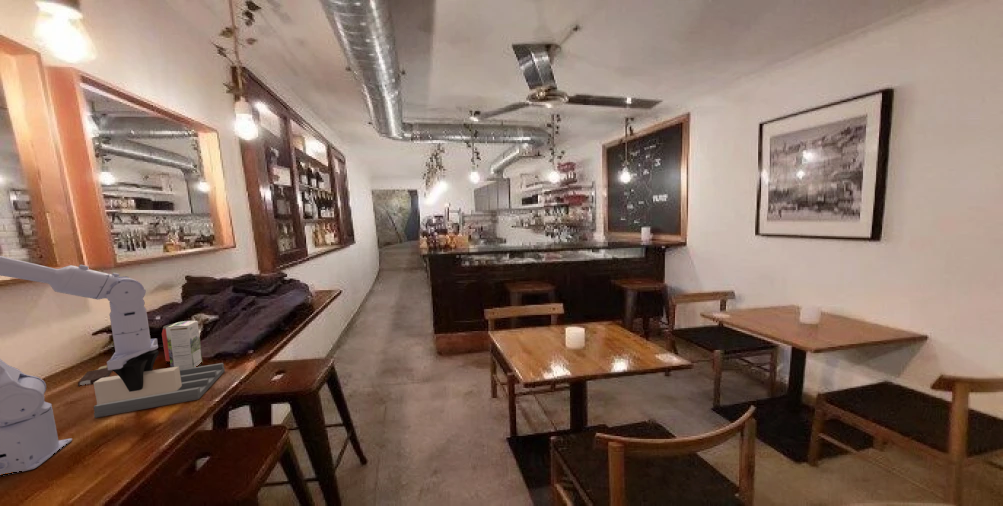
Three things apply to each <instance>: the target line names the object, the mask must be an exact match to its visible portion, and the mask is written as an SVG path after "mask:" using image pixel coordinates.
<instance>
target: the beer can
mask: <svg viewBox="0 0 1003 506" xmlns="http://www.w3.org/2000/svg"><path fill="white" fill-rule="evenodd" d="M175 323H176V322H175ZM175 323H171V324H167V325H164V326H163V327H162V332H161V337H162V344H163V350H164V351H163V353H164V358H165V362H166V361H170V359H169V351H168V343H167V334H166V328H167V327H169V326H171V325H173V324H175Z"/></svg>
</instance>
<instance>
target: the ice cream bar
mask: <svg viewBox="0 0 1003 506" xmlns="http://www.w3.org/2000/svg"><path fill="white" fill-rule="evenodd" d="M110 373H111V374H112V373H113V371H112V370H108V366H107V365H102V366H100V367H98V369H95V370H93V369H92V370H89V371H86V372H85V374H84V375H83V376H82V377H81V379H80V380H79V381H78V383H77V385H78V387H81V386H80V385H82V386H85V384H86V385H94V382H96V381H97V380H99V379H101V378H105V377H110V375H111V374H110Z"/></svg>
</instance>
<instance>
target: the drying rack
mask: <svg viewBox="0 0 1003 506" xmlns="http://www.w3.org/2000/svg"><path fill="white" fill-rule="evenodd" d="M225 371H226V368H225V367H224V362H219V363H213V364H208V365H199V366H198V367H193V368H186V369H180V377H181V384H182V386H181V387H180V388H179V389H178V390H177V391H173V392H167V393H161V394H155V395H149V396H143V397H137V398H131V399H125V400H119V401H113V402H107V403H102V404H97V403H96V405H94V406H93V411H94V412H93V416H94V418H95V419H96V418H102V417H107V416H111V415H118V414H122V413H124V414H125V413H129V412H135V411H139V410H140V411H141V410H148V409H151V408H157V407H164V406H169V405H173V404H174V405H175V404H180V403H184V402H191V401H197V400H199V399H201V397H203V395H204V394H206V392H207V391H208V390H209V389H210V388H211V387H212V386H213V384H215V382H216V381H217V380H218V379H219V378H220V377H221V376H222V375H223V374H224V373H225Z"/></svg>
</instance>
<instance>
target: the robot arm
mask: <svg viewBox="0 0 1003 506" xmlns="http://www.w3.org/2000/svg"><path fill="white" fill-rule="evenodd" d="M89 268H90V267H89V266H88V265H85V264H79V266H77V265H71V264H70V265H67V266H64V267H61V268H55V267H54V268H53V267H50V266H45V265H41V264H37V263H33V262H28V261H25V260H20V259H16V258H13V257H8V256H3V255H0V276H1V277H5V278H6V277H7V278H14V279H20V280H24V281H31V282H36V283H41V284H42V283H44V284H47V285H49V286H50V287H51V288H52V290H53V291H54V292H56V293H60V294H65V295H69V296H76V297H82V298H87V299H93V300H99V301H100V300H104V299H107V300H108V301H109V308H110V312H109V314H108V315H109V320H110V326H111V331H112V332H111V333H112V339H113V345H114V350H115V352H114V353H113V354H112V356H111V357H110V359H109V360H107V361H106V366H107V368H108V370H112V372H114V374H116V376H119V377H120V378H121V379H122V380H123V382H124V384H125V385H126V387H127V389H128V390H129V392H131V391H137V390H141V389H142V388H143V373H144V372H145V371H151V370H154V364H155V362H156V360H157V357H158V356H159V350H157V349H158V348H159V344H158V338H151V335H150V334H151V333H150V332H151V331H150V327H149V320H148V319H149V318H148V313H147V308H146V307H145V300H144V298H145V295H146V289H145V287H144V286H143V284H142V283H141V282H140V281H138V280H137V279H135V278H132V277H129V276H124V275H123V276H120V275H121V274H120V273H117V272H113V273H112V274H111V273H108V272H104V271H98V270H93V269H91V268H90V269H89ZM46 391H47V384H46V382H45V380H43V379H42V378H40V377H39V376H35V375H30V374H26V373H24V372H22V370H20V369H18V368H16V367H14V366H12V365H9V364H8V363H6V362H5V361H3V360H2V359H1V358H0V475H1V474H5V473H11V472H17V473H20V472H19V471H22V472H26V471H31V470H34V469H36V468H38V467H39V466H41V465H42V464H43V463H45V462H46V461H47V460H49V458H51V457H52V456H53V454H54V453H55V454H56V453H58V452H59V451H60V450H62V449H63V448H64V447H66V446H67V445H68V444H69V443H71V442H72V441H73V438H70V437H69V438H65V439H59V437H58V436H59V435H58V431H57V426H56V420H55V415H54V409H53V406H52V405H53V404H52V403H50V402H47V401H45V393H46ZM66 444H67V445H66ZM63 446H64V447H63ZM62 447H63V448H62ZM59 449H60V450H59ZM58 450H59V451H58ZM57 451H58V452H57ZM55 454H54V455H55Z"/></svg>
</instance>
